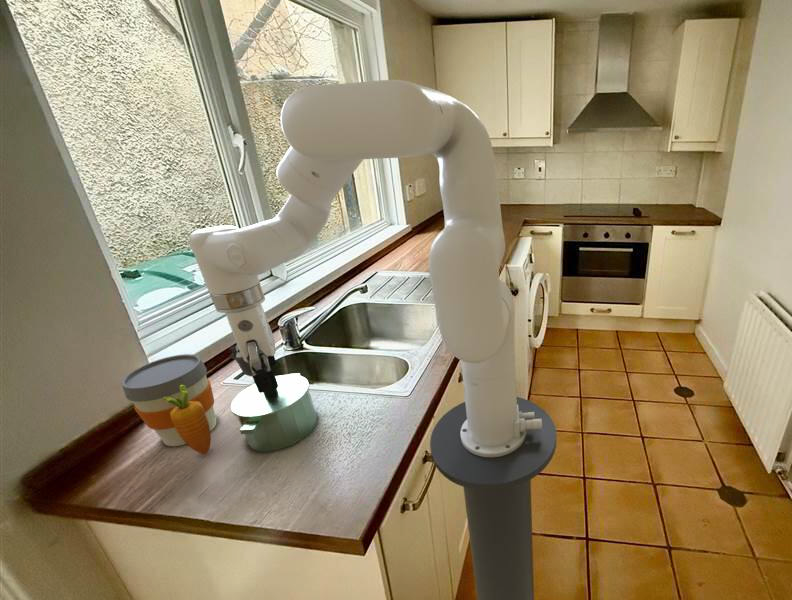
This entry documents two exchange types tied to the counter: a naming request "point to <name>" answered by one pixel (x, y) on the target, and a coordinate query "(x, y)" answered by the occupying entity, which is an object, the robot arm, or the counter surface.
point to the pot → (280, 426)
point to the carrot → (190, 422)
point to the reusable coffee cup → (168, 392)
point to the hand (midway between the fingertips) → (268, 377)
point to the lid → (270, 397)
